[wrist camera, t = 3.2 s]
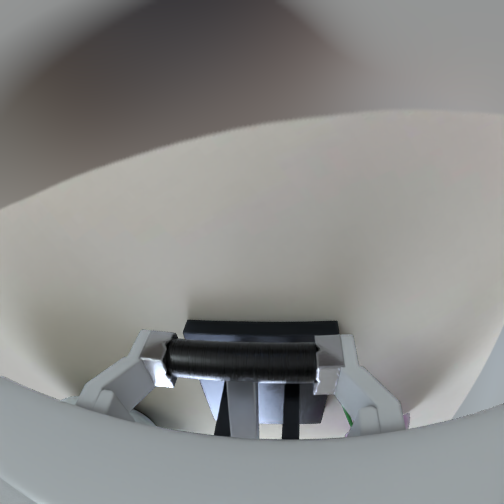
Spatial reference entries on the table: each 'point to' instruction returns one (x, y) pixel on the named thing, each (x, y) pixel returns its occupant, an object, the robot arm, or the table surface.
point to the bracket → (269, 394)
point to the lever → (243, 372)
